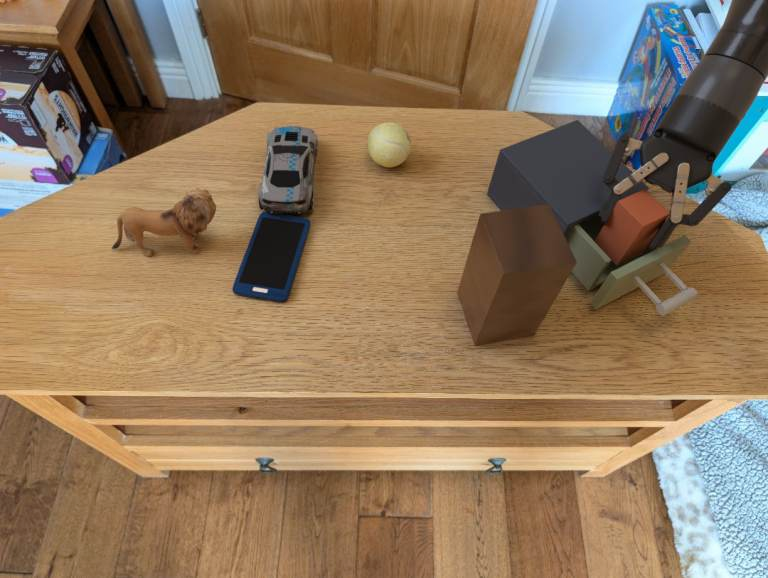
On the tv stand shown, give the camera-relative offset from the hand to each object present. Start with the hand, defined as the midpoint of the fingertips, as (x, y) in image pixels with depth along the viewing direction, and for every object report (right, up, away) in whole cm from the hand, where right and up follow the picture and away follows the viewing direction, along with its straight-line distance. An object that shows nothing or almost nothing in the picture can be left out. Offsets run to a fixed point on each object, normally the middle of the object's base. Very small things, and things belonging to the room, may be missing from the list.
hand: (626, 235), depth 69 cm
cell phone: (-45, -2, +7) cm, 45 cm away
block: (+1, -1, +4) cm, 5 cm away
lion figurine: (-58, 0, +8) cm, 59 cm away
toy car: (-44, +10, +15) cm, 47 cm away
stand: (-15, -10, +4) cm, 19 cm away
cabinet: (-5, +5, +14) cm, 15 cm away
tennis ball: (-29, +13, +18) cm, 37 cm away
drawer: (+1, -4, +7) cm, 8 cm away
